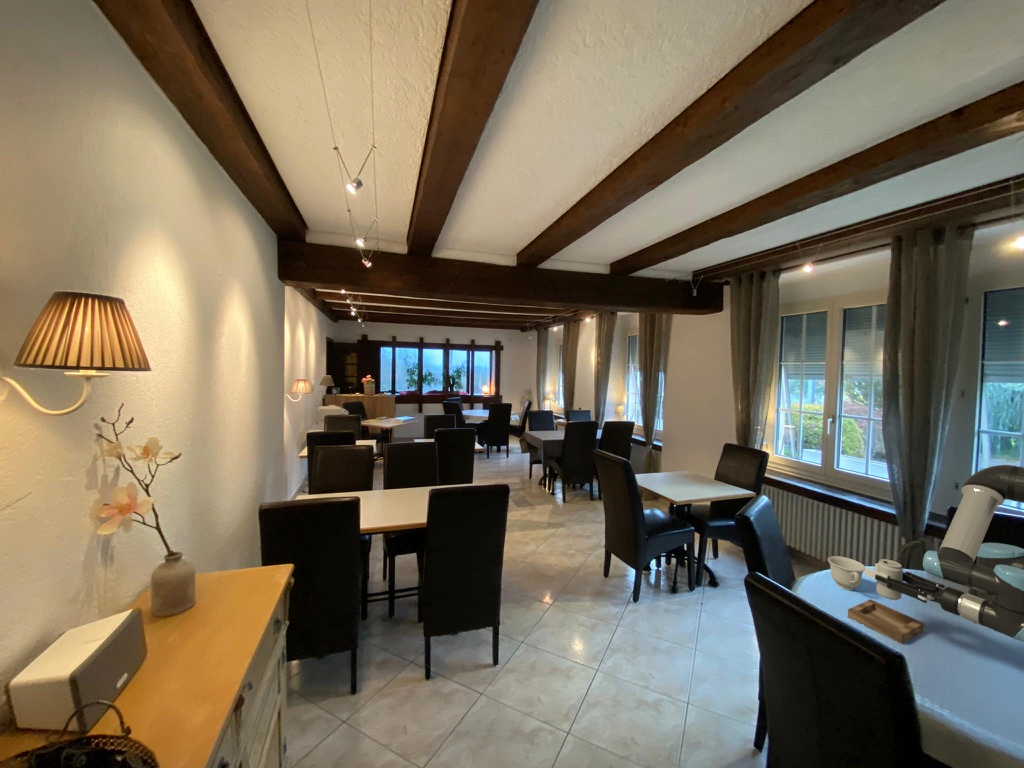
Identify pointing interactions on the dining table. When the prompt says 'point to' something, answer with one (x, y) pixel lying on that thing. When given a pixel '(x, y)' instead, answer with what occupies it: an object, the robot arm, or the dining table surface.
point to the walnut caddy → (886, 621)
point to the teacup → (846, 572)
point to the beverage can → (894, 572)
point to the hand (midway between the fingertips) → (870, 569)
